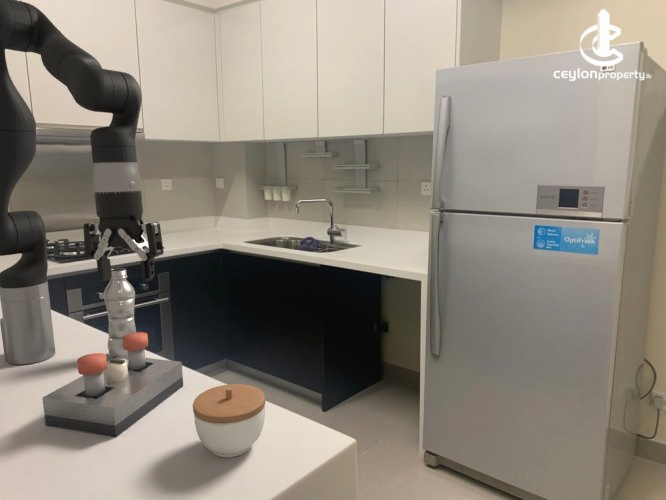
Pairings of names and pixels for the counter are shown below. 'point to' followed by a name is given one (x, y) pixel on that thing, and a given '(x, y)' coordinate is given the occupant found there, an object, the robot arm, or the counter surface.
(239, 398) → the lidded jar
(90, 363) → the knob outer
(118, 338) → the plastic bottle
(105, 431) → the panel
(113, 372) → the dial
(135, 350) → the knob inner
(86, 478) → the counter surface
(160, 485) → the counter surface
